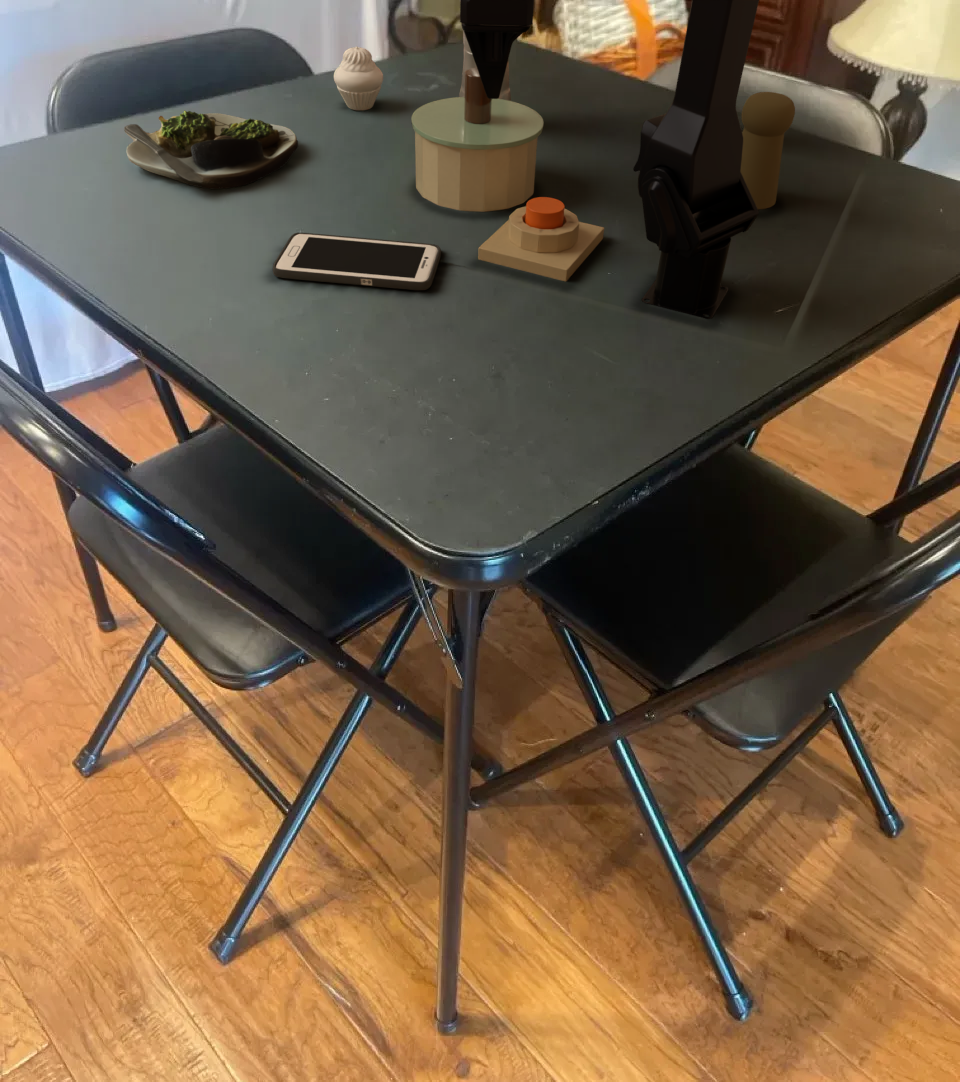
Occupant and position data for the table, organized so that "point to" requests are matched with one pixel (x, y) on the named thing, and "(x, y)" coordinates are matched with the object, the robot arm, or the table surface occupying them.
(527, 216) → the button
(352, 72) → the muffin
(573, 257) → the control block
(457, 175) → the pot
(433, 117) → the lid
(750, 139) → the cork
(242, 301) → the table surface
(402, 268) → the cell phone
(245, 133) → the salad plate
